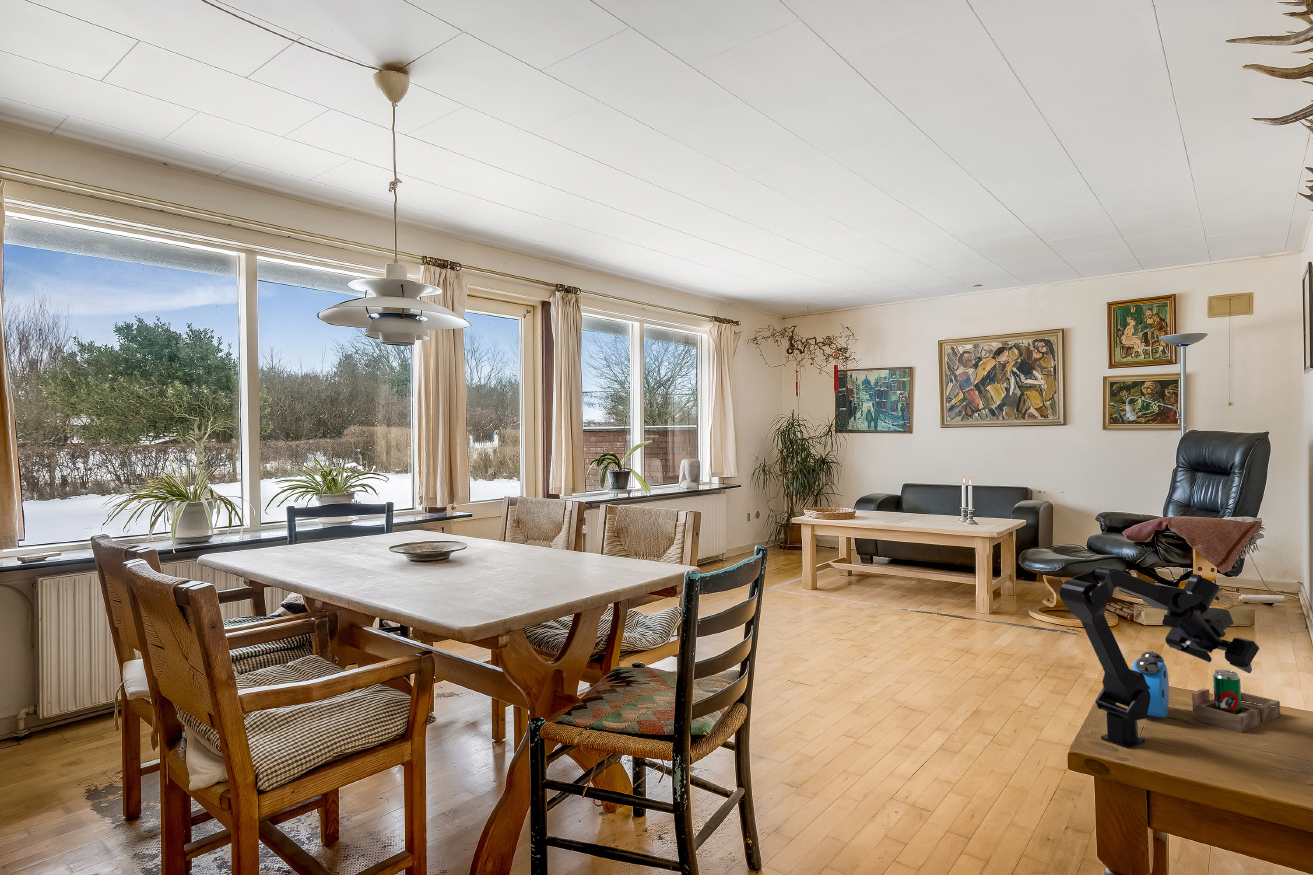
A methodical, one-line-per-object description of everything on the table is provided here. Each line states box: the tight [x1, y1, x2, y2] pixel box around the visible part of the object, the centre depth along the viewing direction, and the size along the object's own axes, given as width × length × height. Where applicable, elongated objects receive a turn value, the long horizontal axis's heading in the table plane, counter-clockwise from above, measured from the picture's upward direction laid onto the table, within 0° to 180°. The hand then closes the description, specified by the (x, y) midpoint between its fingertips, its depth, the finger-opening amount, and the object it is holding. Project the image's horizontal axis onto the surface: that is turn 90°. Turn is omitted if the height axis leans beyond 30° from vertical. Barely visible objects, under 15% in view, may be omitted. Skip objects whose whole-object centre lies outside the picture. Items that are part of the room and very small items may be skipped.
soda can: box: [1212, 669, 1242, 715], centre depth 168 cm, size 5×5×12 cm
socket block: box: [1191, 684, 1281, 733], centre depth 171 cm, size 19×10×6 cm, turn 117°
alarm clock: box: [1132, 650, 1170, 719], centre depth 174 cm, size 13×6×15 cm, turn 137°
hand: (1229, 665), depth 168 cm, fingers open, 9 cm apart
